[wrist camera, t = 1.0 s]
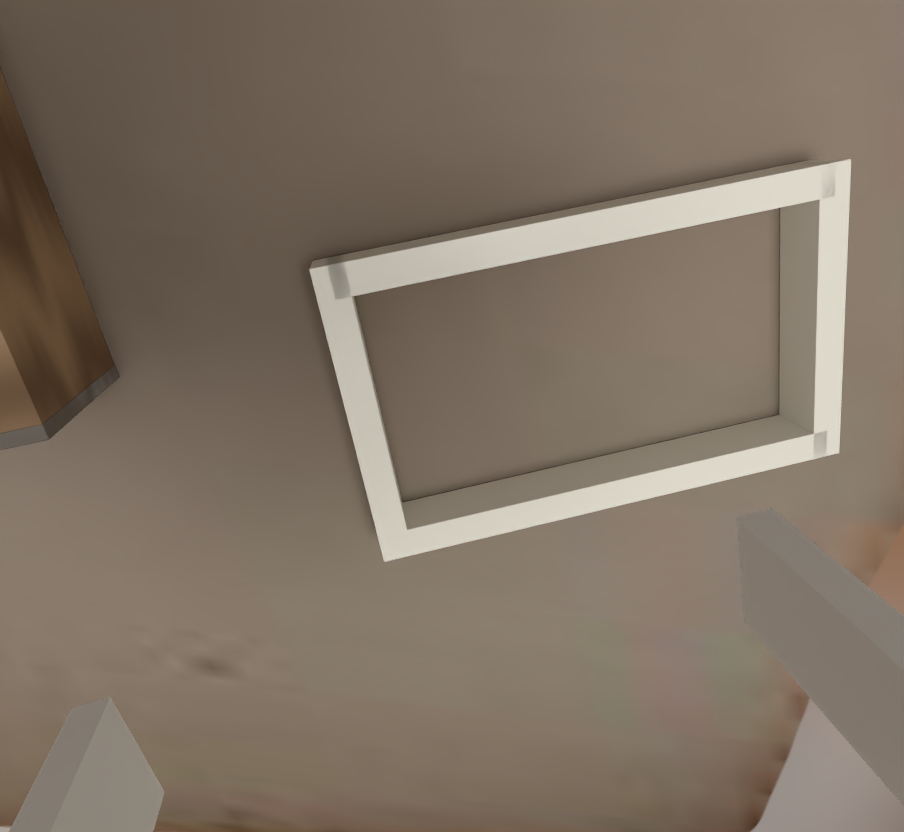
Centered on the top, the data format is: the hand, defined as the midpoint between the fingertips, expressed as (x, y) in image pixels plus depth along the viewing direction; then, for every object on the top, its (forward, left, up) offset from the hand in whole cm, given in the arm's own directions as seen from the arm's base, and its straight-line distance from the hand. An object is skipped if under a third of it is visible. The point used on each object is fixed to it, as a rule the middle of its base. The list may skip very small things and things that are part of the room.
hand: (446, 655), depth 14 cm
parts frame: (+1, +10, -21) cm, 24 cm away
